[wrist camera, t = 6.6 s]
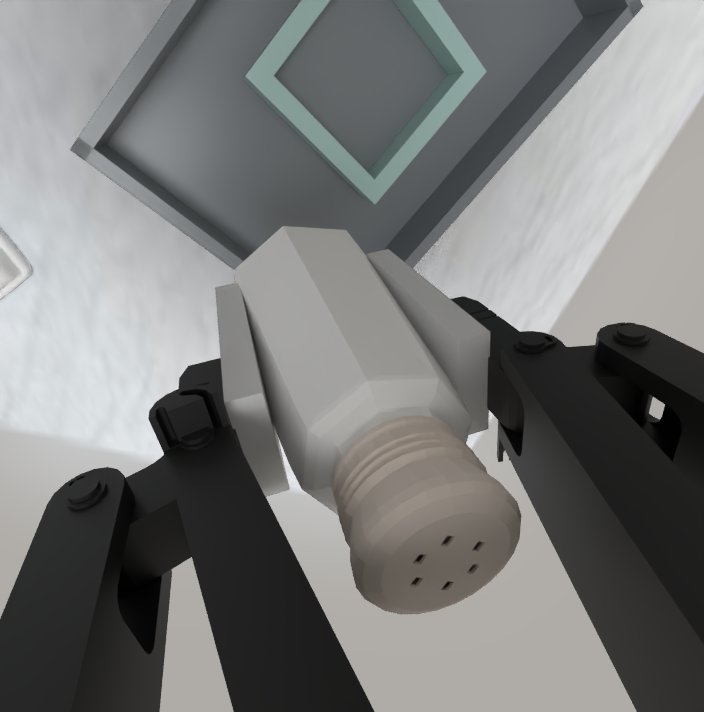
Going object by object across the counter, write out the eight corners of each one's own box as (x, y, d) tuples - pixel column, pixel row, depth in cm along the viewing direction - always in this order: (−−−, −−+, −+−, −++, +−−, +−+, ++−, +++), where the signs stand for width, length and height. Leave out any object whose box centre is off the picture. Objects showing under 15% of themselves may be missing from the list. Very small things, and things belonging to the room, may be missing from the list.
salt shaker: (202, 338, 16) (203, 672, 7) (269, 189, 14) (395, 358, 5) (337, 384, 18) (476, 677, 9) (408, 262, 17) (666, 467, 7)
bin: (89, 144, 25) (69, 149, 21) (408, -316, 21) (454, -412, 17) (325, 322, 34) (341, 348, 30) (585, 20, 30) (643, 6, 26)
